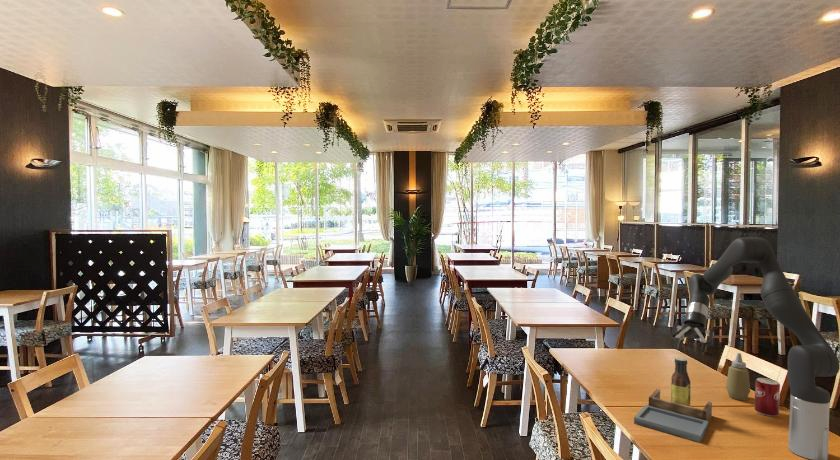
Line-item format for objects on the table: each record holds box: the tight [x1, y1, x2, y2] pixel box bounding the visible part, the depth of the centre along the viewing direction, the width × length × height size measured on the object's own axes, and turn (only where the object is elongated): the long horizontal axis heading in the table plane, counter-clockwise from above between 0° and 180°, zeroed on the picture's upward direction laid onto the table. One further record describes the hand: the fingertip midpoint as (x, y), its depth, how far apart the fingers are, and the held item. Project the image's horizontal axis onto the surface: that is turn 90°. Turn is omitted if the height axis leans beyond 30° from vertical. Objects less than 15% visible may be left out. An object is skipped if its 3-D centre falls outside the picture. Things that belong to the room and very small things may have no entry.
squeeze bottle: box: [725, 352, 751, 401], centre depth 183 cm, size 8×8×18 cm
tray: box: [633, 404, 709, 443], centre depth 158 cm, size 20×14×2 cm
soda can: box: [754, 377, 781, 417], centre depth 169 cm, size 7×7×12 cm
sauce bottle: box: [670, 357, 692, 407], centre depth 168 cm, size 6×6×20 cm
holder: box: [648, 389, 713, 422], centre depth 168 cm, size 18×11×5 cm, turn 49°
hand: (689, 350), depth 177 cm, fingers open, 8 cm apart
